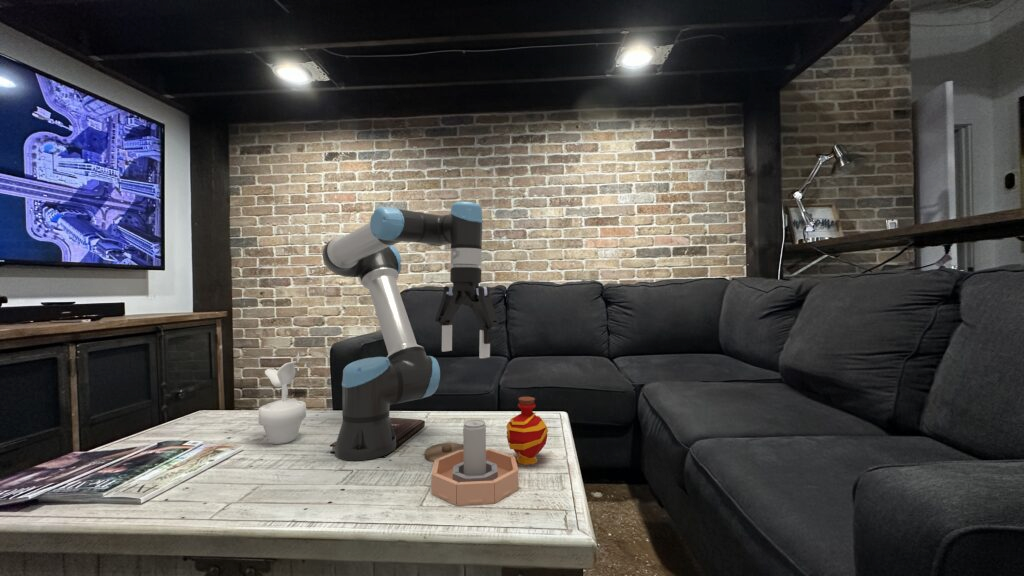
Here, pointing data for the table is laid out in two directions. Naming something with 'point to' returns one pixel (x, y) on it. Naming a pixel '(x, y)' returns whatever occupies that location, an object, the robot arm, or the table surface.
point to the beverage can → (474, 447)
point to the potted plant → (282, 407)
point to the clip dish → (476, 486)
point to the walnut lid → (441, 450)
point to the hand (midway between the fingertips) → (464, 354)
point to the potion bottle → (526, 432)
